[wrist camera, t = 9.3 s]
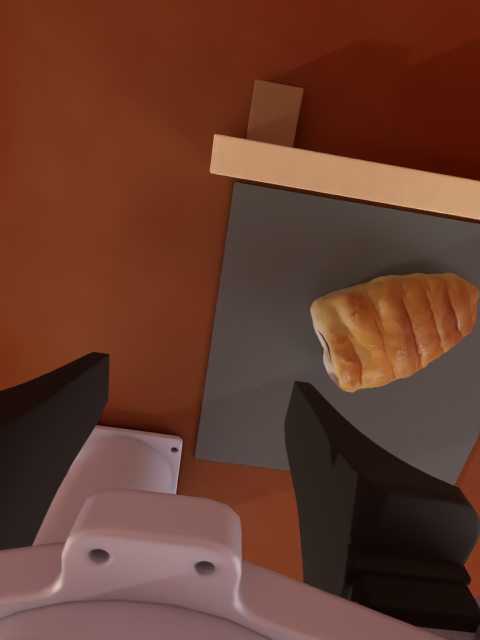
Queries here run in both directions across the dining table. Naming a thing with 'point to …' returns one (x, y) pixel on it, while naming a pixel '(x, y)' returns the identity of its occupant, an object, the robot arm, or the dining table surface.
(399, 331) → the pastry
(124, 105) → the dining table surface
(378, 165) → the back board
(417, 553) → the robot arm
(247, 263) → the placemat
